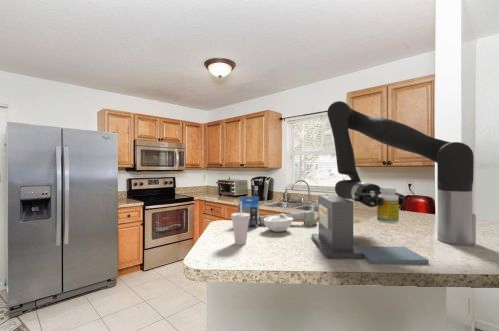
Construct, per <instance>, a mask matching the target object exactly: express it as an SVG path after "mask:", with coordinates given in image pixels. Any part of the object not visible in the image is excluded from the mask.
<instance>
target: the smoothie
mask: <svg viewBox="0 0 499 331" xmlns="http://www.w3.org/2000/svg"><path fill="white" fill-rule="evenodd" d="M239 203H240V213H238V212H234V213H232V214H231V215H230V219H231V222H232V229H233V237H234V244H235V245H236V246H237V245H238V246H243V245H246V244H247V239H248V230H249V227H248V223H249V218H250V214H248V213H242V201H240V200H239Z"/></svg>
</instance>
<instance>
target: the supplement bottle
mask: <svg viewBox="0 0 499 331" xmlns="http://www.w3.org/2000/svg"><path fill="white" fill-rule="evenodd" d="M379 187H380V192H381V194H380V195H378V197H381V198H383V206H379V205H377V206H376V207H377V209H376V213H377V214H376V215H377V216H376V217H377V218H376V220H377V221H378V222H379V223H384V224H398V223H399V215H400V214H399V213H400V212H399V211H400V209H399V208H400V205H399V197H398V196H396V195H395V193H397V188H396V187H392V186H379Z"/></svg>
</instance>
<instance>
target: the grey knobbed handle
mask: <svg viewBox="0 0 499 331" xmlns="http://www.w3.org/2000/svg"><path fill="white" fill-rule="evenodd" d="M280 214H281V213H280ZM280 214H269V215H267V214H266V215H261V216H260V215H259V226H265V224H264V218H266V217H269V216H280ZM284 214H285V215H286V216H287V217H291V218H293V221H292V222H296V221H297V222H298V221H302V222H303V225H304V226H311V227H312V226H314V225H317V224H318V221H317V220H318V216H315V211H314V210H306V211H303V212H295V213H293V212H292V213H284Z"/></svg>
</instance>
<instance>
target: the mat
mask: <svg viewBox="0 0 499 331" xmlns="http://www.w3.org/2000/svg"><path fill="white" fill-rule="evenodd" d="M354 246H355V247H356V248H358V249H359V250H360V251H361V252H362V253H363V259H365V260H366V262H368V263H369V264H371V265H374V264H375V265H377V264H381V265H383V264H384V265H385V264H387V265H390V264H391V265H394V264H396V265H400V264H401V265H402V264H403V265H404V264H405V265H412V264H413V265H418V264H419V265H420V264H421V265H422V264H423V265H428V264H429V262H430V261H429V259H428V258H427V257H424V256H422V255H420V254H419V253H417V252H416V251H415V252H414V251H413V250H412V249H410V248H408V247H406V246H373V245H372V246H371V245H370V246H356V245H354Z"/></svg>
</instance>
